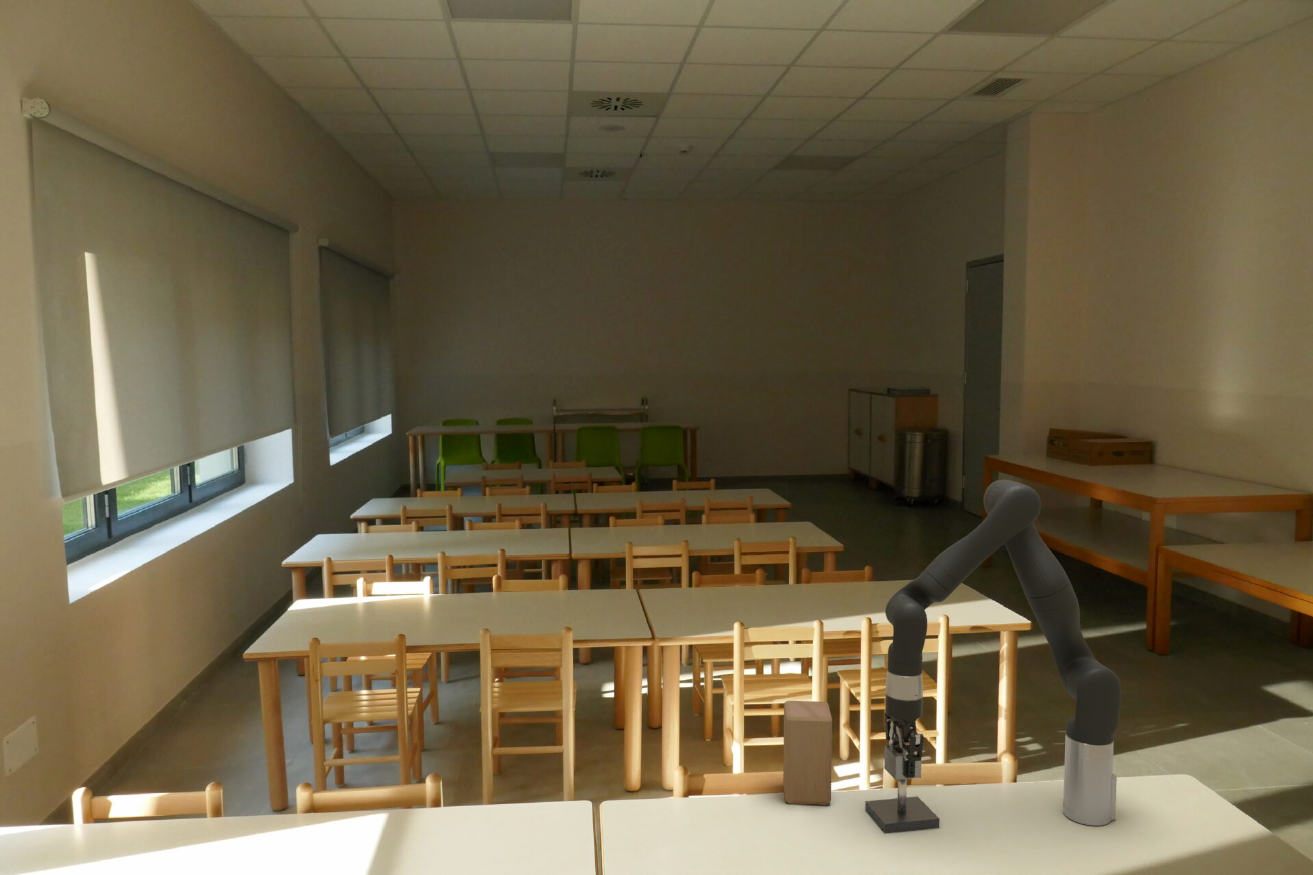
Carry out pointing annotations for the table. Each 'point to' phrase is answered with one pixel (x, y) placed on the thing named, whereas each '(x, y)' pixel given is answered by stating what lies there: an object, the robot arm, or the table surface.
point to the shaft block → (902, 812)
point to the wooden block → (807, 752)
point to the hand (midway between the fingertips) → (902, 770)
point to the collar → (898, 762)
